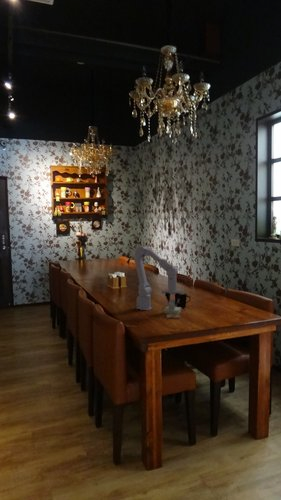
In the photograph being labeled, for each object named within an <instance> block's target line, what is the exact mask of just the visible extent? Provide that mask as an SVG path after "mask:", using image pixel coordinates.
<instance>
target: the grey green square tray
mask: <svg viewBox="0 0 281 500" xmlns="http://www.w3.org/2000/svg"><path fill="white" fill-rule="evenodd" d="M181 311H182V308H181V307H176V308H175V309H169V306H166V307H165V308H164V309H163V314H179V315H180V313H181Z"/></svg>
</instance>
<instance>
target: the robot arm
mask: <svg viewBox="0 0 281 500" xmlns="http://www.w3.org/2000/svg"><path fill="white" fill-rule="evenodd" d="M134 250H135V251H134V252H135V254H134V264H135V268H136V272H137V273H136V274H137V278H138V283H139V284H138V296H137V297H136V310H137V309H140V310H139V311H151V310H152V309H153V306H151V303H152V302H151V294H152V292H153V290H152V287H151V286H150V282H148V279H147V274H146V271H145V266H144V262H143V260H144V258H145V257H147V256H149V257H150V258H152V259H153V260H154V261H156V262H157V263H158V266H159V267H160V268H162V270H164V271H165V272H166V274H167V289H165V290H164V289H162V290H161V294H164V296H165V298H166V299H167V304H168V306H169V301H170V300H171V295H174V300H175V305H177V300H178V297H179V295H180V294H183V292H184V291H183V290H178V289H177V288H178V285H177V284H178V283H177V273H178V271H179V270H178V268H177V267H176V265H173V263H172V264H171V263H170V262H169V261H168V259H165V258H162V257H161V256H159V254H157V253H156V252H155V251H154V250H153V249H152V248H151V247H149V246H148V245H139V246H137V247H136V249H134Z"/></svg>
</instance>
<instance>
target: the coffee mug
mask: <svg viewBox="0 0 281 500" xmlns="http://www.w3.org/2000/svg"><path fill="white" fill-rule="evenodd" d="M188 298H189V300H188V301H187V299H188ZM191 300H192V299H191V296H189V295H188V292H185V291H183V294H180V295H179V297H178V300H177V307H181V309H185V308H186V306H187V304H188V303H189V302H190V301H191Z"/></svg>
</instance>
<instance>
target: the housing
mask: <svg viewBox="0 0 281 500" xmlns="http://www.w3.org/2000/svg"><path fill="white" fill-rule="evenodd" d="M168 307H169V309H175V308H176V307H177V305H175V299H170V301H169V305H168Z"/></svg>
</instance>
